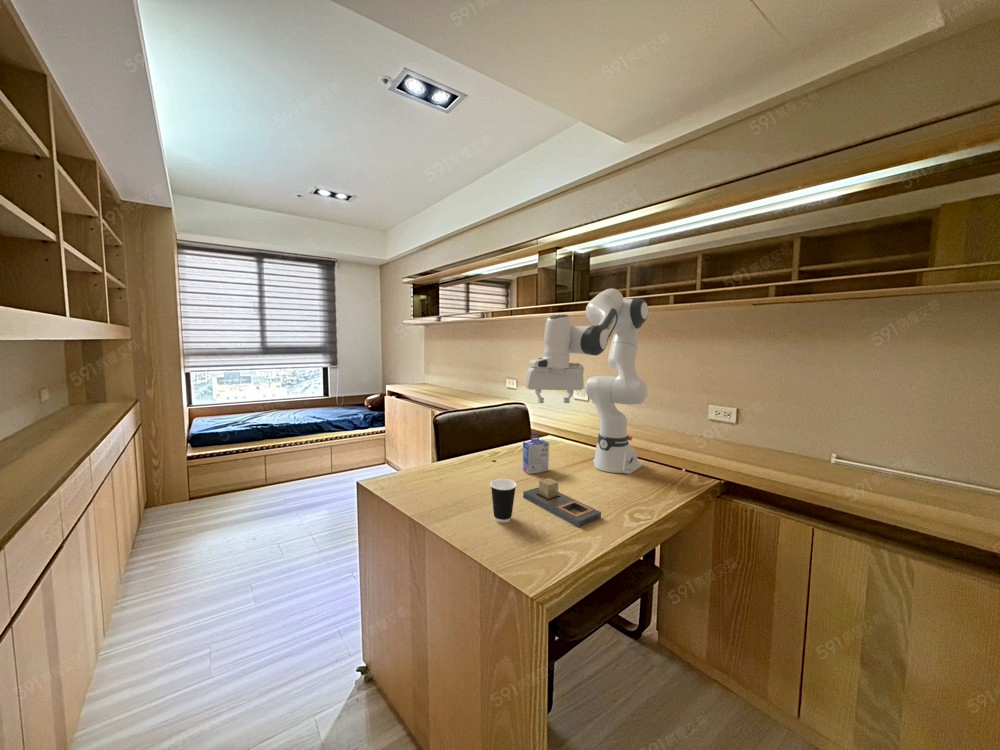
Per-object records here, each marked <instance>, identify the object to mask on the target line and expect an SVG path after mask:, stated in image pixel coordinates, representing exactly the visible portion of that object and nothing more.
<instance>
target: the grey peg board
mask: <svg viewBox="0 0 1000 750" xmlns="http://www.w3.org/2000/svg"><path fill="white" fill-rule="evenodd" d="M522 497H523V499H526V500H527V501H529V502H531V503H532V504H534V505H536V506H538V507H540V508H542V509H544V510H545V511H547V512H549V513H551V514H553V515H554V516H556V517H558V518H560V519H561V520H564V521H565V522H568V523H570V524H571V525H573V526H575V527H577V528H579V529H580V528H582V527H585V526H587V525H589V524H591V523H593V522H596V521H598V520H601V518H602V511H599V510H598V509H595V508H593V507H591V506H589V505H587V504H585V503H583V502H580V501H578V500H577V499H575V498H572V497H571V496H568V495H566V494H564V493H562V492H560V491H558V498H555V499H552V500H549V501H547V500H545V499H543V498H541V497H539V486H538V487H536V488H532V489H528V490H525V491H523V495H522ZM573 510H575V511H577V512H579V513H577V514H576V513H574V512H572V511H573Z"/></svg>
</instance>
